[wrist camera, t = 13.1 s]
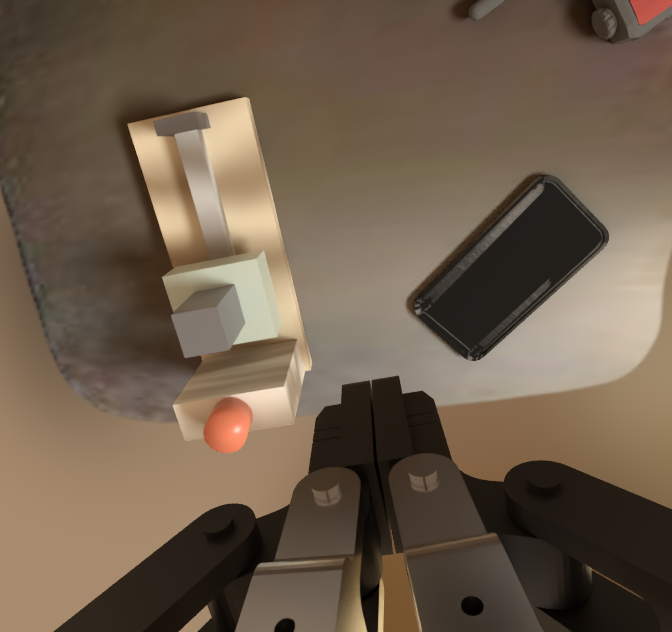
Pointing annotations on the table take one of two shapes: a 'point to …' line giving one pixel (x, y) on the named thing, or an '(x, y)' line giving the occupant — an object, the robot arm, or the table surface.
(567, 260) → the phone
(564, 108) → the table surface
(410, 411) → the robot arm
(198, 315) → the block
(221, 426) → the button
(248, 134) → the rail base
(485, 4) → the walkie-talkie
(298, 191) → the table surface
